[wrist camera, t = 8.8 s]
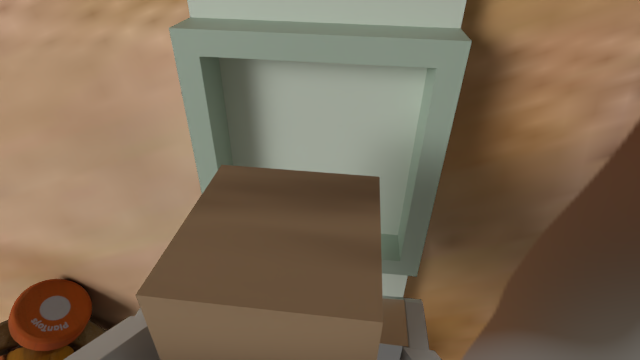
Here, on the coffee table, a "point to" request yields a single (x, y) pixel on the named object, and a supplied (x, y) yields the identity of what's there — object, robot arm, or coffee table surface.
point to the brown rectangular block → (271, 270)
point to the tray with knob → (329, 98)
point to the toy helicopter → (48, 322)
